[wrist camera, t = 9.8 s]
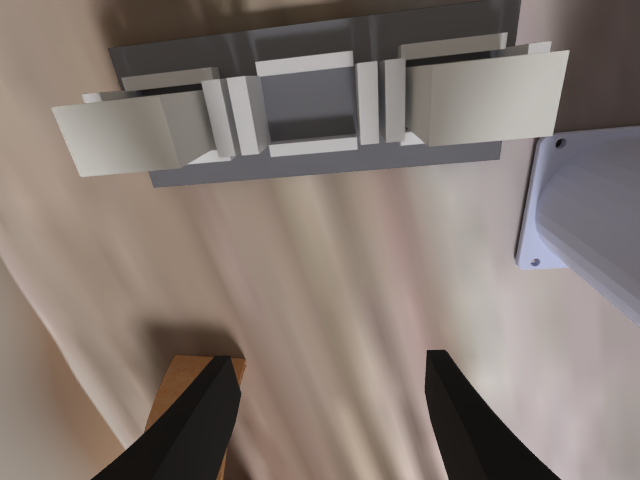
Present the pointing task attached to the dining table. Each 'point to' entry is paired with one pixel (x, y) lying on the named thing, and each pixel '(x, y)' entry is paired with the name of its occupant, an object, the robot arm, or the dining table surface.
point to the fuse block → (317, 89)
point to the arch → (185, 386)
